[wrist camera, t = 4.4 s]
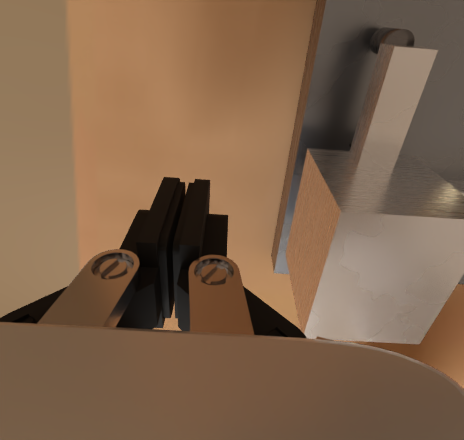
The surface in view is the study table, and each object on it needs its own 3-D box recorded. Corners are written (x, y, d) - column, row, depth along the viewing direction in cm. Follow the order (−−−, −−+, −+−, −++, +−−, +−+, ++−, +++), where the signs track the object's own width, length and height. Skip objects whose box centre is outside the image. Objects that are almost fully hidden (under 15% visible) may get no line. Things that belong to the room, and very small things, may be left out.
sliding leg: (445, 32, 10) (605, 48, 6) (365, 246, 15) (419, 344, 11) (325, 21, 10) (395, 30, 6) (282, 241, 15) (302, 338, 11)
